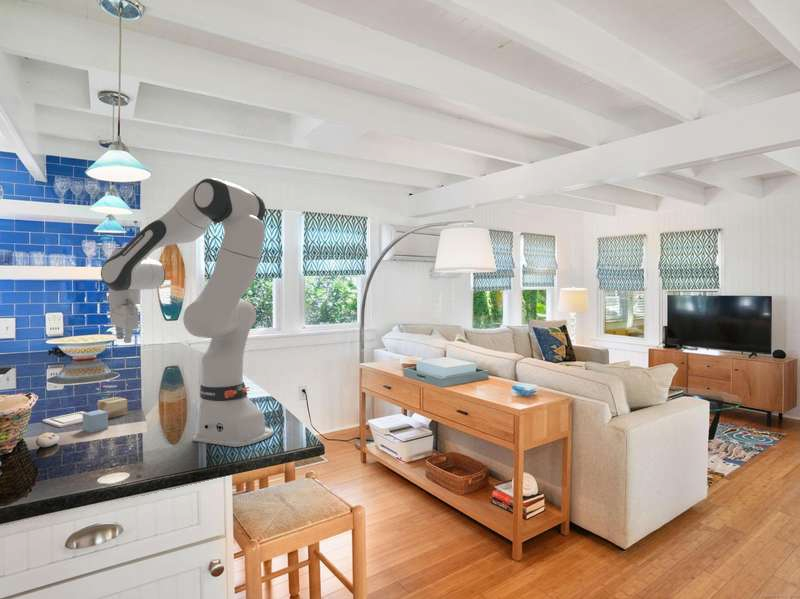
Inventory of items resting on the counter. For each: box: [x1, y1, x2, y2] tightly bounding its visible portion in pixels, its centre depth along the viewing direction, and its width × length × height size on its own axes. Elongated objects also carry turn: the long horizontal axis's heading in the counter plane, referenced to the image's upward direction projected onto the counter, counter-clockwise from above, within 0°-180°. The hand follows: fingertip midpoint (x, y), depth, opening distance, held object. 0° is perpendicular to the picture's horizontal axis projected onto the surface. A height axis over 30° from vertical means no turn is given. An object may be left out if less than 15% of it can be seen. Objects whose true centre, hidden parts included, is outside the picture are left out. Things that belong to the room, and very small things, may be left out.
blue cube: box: [82, 409, 109, 434], centre depth 134 cm, size 5×5×5 cm
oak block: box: [97, 396, 128, 419], centre depth 149 cm, size 6×6×5 cm
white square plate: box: [42, 410, 87, 428], centre depth 143 cm, size 11×11×1 cm
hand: (123, 340), depth 148 cm, fingers open, 8 cm apart
